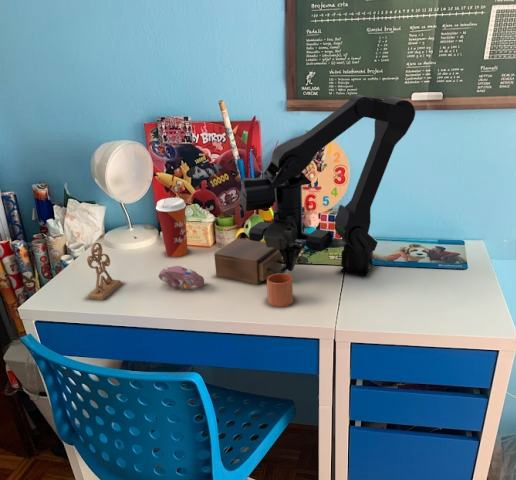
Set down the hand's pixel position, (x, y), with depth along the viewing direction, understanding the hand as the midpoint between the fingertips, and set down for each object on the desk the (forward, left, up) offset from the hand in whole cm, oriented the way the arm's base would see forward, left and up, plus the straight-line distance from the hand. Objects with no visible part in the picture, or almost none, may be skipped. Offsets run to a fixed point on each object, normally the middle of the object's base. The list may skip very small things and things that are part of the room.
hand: (290, 270), depth 137 cm
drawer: (+8, 0, -2) cm, 8 cm away
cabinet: (+12, 0, -2) cm, 12 cm away
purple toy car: (+22, +13, -3) cm, 26 cm away
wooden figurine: (+38, +22, -3) cm, 44 cm away
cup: (-3, +10, -3) cm, 11 cm away
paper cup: (+36, -4, -3) cm, 36 cm away
